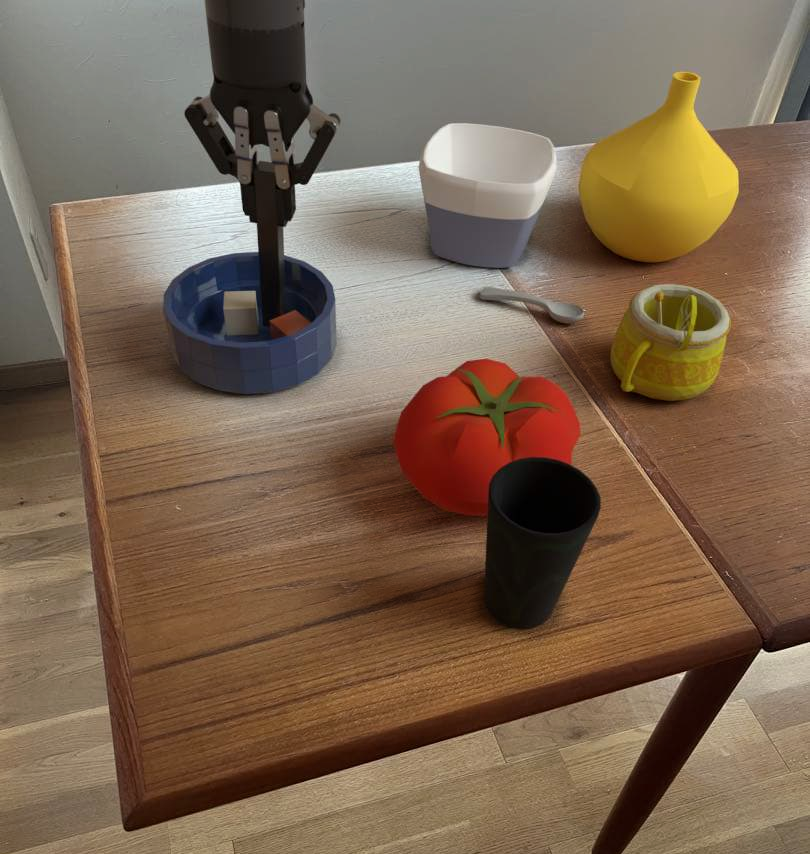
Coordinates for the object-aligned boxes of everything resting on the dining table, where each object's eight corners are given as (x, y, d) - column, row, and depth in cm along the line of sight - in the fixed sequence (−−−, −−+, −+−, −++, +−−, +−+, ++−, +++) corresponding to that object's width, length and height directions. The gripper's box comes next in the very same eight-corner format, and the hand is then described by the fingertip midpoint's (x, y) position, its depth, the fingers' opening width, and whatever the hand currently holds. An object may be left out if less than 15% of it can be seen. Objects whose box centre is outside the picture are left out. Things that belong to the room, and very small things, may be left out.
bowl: (549, 224, 105) (565, 134, 96) (531, 287, 95) (548, 193, 86) (432, 204, 107) (438, 115, 98) (402, 265, 97) (406, 171, 88)
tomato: (361, 476, 73) (361, 388, 66) (489, 402, 81) (502, 316, 73) (474, 572, 67) (488, 486, 59) (602, 482, 74) (629, 396, 67)
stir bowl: (150, 386, 80) (137, 334, 76) (202, 294, 91) (194, 243, 87) (316, 408, 79) (314, 357, 75) (349, 312, 90) (349, 262, 86)
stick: (262, 326, 84) (253, 169, 72) (267, 315, 85) (259, 160, 73) (281, 329, 84) (275, 173, 72) (286, 318, 85) (281, 163, 73)
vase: (725, 289, 96) (789, 119, 82) (569, 273, 97) (605, 103, 83) (705, 213, 108) (758, 53, 94) (566, 200, 109) (598, 40, 95)
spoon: (578, 330, 89) (580, 314, 88) (476, 308, 93) (476, 292, 91) (586, 317, 91) (588, 301, 90) (485, 295, 95) (486, 279, 93)
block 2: (271, 347, 84) (269, 320, 82) (296, 335, 86) (295, 309, 83) (289, 362, 83) (287, 335, 80) (315, 350, 84) (314, 324, 82)
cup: (455, 576, 66) (470, 469, 57) (539, 553, 68) (567, 446, 59) (495, 652, 62) (519, 549, 53) (584, 624, 64) (622, 520, 55)
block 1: (227, 335, 85) (223, 308, 83) (227, 317, 87) (224, 291, 85) (258, 334, 86) (255, 308, 83) (258, 317, 88) (255, 290, 85)
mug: (643, 331, 90) (675, 228, 81) (731, 378, 85) (775, 274, 76) (571, 379, 84) (597, 274, 75) (661, 433, 79) (700, 327, 70)
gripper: (150, 13, 61) (185, 231, 74) (332, 34, 60) (334, 251, 74) (184, -17, 66) (210, 193, 79) (352, 2, 65) (351, 211, 78)
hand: (270, 220), depth 76 cm, fingers closed on stick, 2 cm apart
